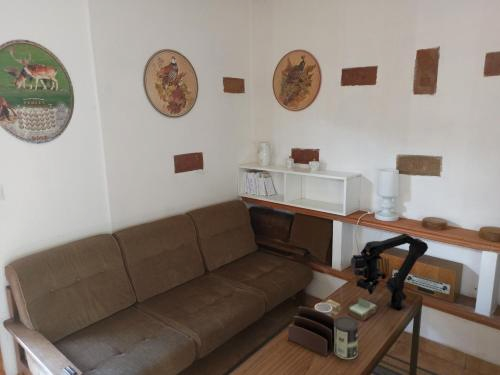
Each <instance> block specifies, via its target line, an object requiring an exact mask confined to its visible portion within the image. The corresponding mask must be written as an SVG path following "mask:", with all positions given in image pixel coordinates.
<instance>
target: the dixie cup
mask: <svg viewBox="0 0 500 375" xmlns="http://www.w3.org/2000/svg"><path fill="white" fill-rule="evenodd" d="M314 310H316V311H319V312H322V313H324V314H326V315H329V316H331V317H332V313H331V310H332V306H331V305H329V304H327V303H325V302H319V303H316V304H315V305H314Z"/></svg>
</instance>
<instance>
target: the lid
mask: <svg viewBox="0 0 500 375" xmlns="http://www.w3.org/2000/svg"><path fill="white" fill-rule="evenodd" d="M357 302H358V303H357V304H355V305H354V306H352V307H350V309H349V310H351V311H353V312H355V313H357V314H359V315H361V316H363V314H364V313H366V312H367V311H369V310H370V309H372V308H373V307H375V306H376V304H375V303H373V302H370V301H368V300H366V299H363V298H361V297H359V298H358V300H357Z"/></svg>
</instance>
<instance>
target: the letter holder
mask: <svg viewBox="0 0 500 375" xmlns="http://www.w3.org/2000/svg"><path fill="white" fill-rule="evenodd" d="M297 313H298V315H294V316H293V324H289V325H288V334H287V336H288V340H289V341H291V342H294V343H295V344H298V345H300V346H303V347H304V348H307V349H309V350H311V351H313V352H316V353H318V354H320V355H322V356H325V357H328V356H329V354H330V353H331V352H332V351H334V320H335V319H336V318H334V317H332V315H331V316H329V315H326V314H324V313H322V312H319V311H316V310H315V309H313V308H311V307H307V306H301V305H300V306H298V311H297Z"/></svg>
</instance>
